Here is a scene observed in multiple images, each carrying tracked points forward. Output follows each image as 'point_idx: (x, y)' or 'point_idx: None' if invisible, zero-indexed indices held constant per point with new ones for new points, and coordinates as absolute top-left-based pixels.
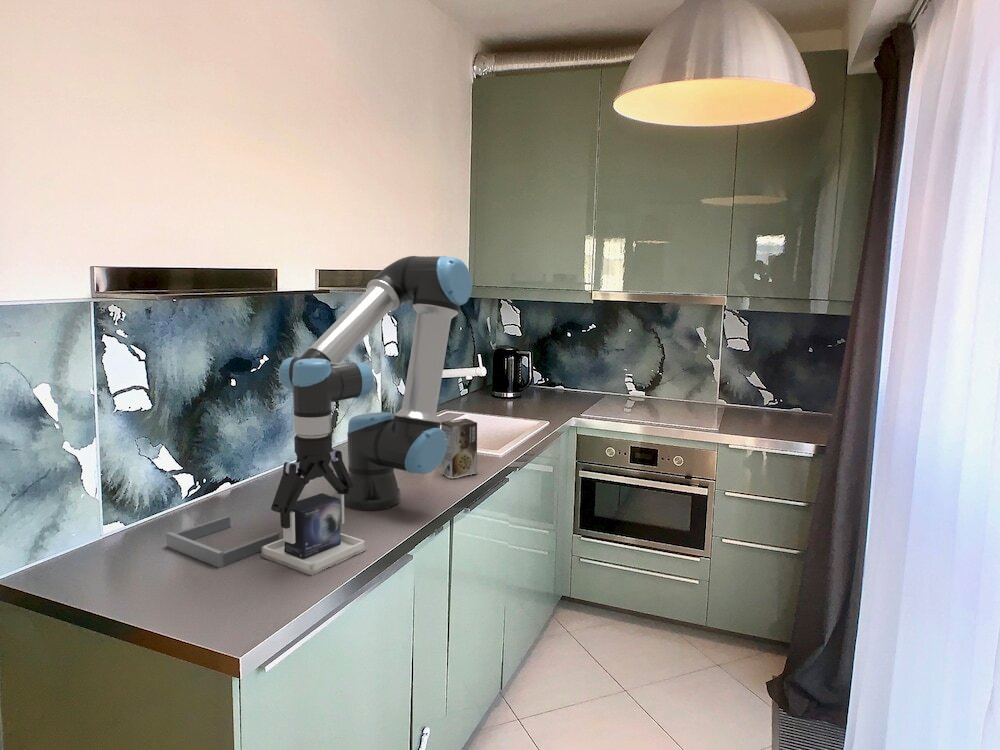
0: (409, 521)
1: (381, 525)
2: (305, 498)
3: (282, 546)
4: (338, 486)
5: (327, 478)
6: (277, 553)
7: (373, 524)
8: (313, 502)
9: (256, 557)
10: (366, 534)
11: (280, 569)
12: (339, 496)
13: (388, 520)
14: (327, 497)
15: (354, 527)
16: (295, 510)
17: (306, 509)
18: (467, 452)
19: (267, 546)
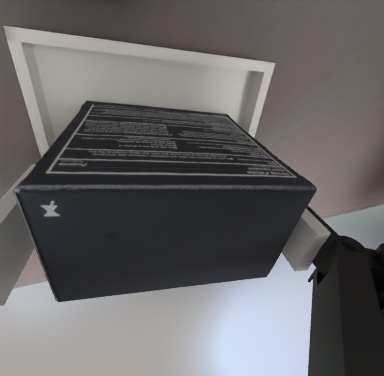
0: (373, 184)
1: (349, 156)
2: (203, 191)
3: (112, 53)
4: (311, 315)
5: (329, 362)
6: (33, 126)
7: (353, 139)
8: (173, 259)
9: (3, 11)
10: (295, 165)
11: (30, 154)
12: (294, 258)
13: (378, 149)
14: (262, 248)
15: (330, 114)
16: (43, 265)
17: (87, 293)
18: None
19: (33, 42)
